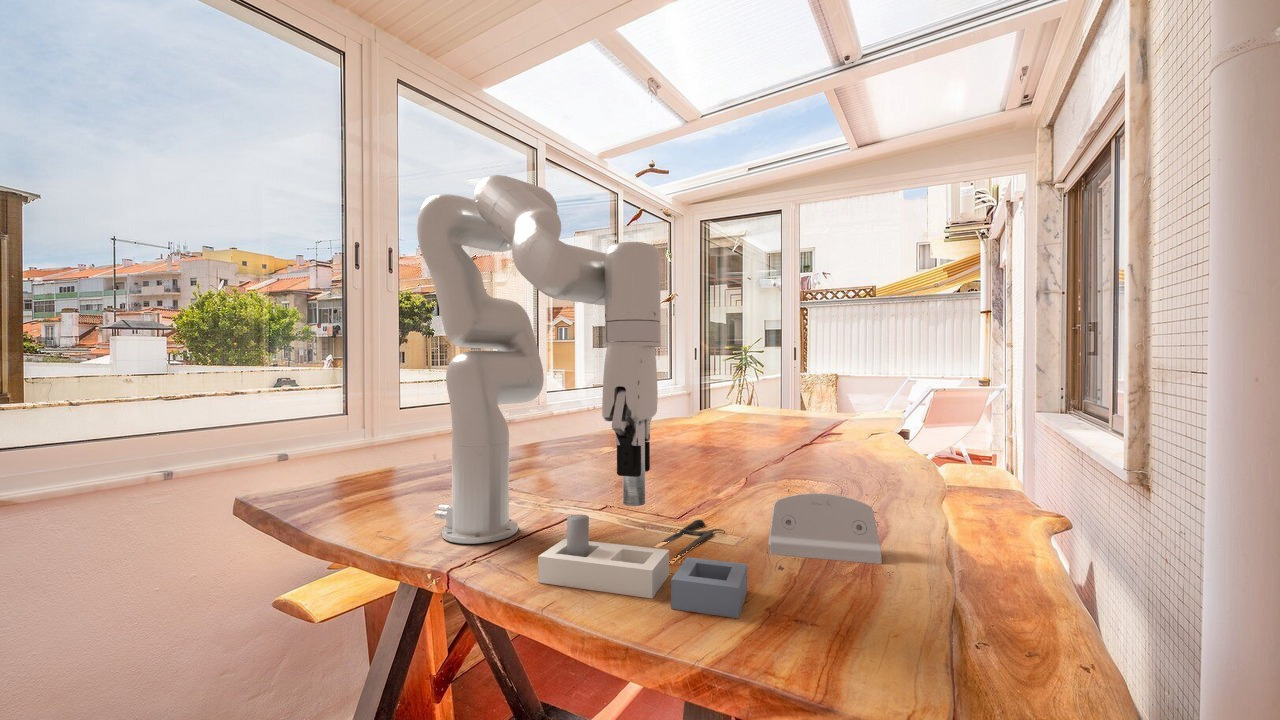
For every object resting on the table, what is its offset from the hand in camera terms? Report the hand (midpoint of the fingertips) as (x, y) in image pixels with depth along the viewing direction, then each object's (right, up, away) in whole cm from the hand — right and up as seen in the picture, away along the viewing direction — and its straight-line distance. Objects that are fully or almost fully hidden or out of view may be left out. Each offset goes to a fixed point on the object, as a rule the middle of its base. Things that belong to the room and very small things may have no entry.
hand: (633, 472), depth 73 cm
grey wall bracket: (+30, -15, +13) cm, 36 cm away
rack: (-4, -15, +1) cm, 15 cm away
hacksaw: (+9, -16, +15) cm, 23 cm away
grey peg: (0, -4, 0) cm, 4 cm away
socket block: (+10, -15, -5) cm, 18 cm away
